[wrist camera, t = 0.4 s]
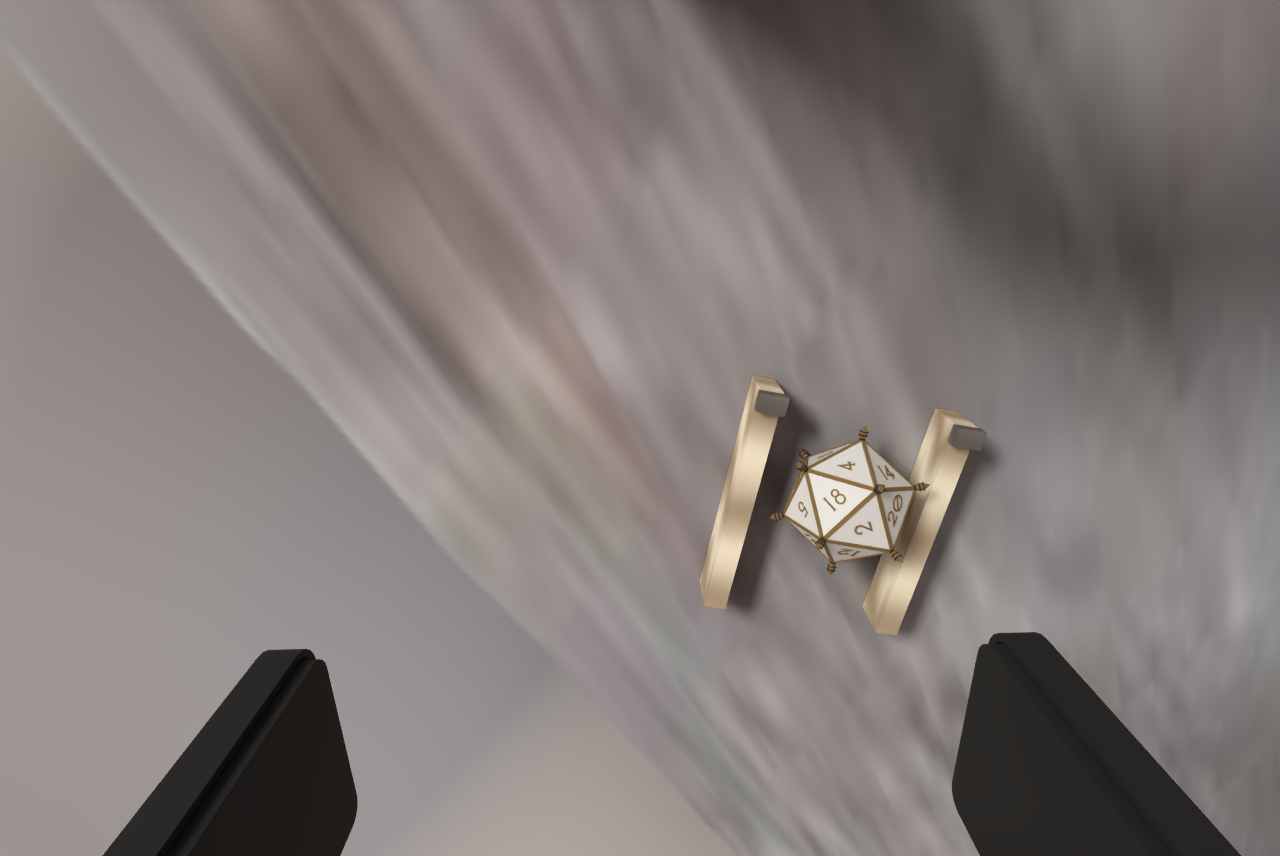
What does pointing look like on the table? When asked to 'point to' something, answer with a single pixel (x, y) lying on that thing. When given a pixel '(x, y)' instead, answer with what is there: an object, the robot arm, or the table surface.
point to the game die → (849, 502)
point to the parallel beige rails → (892, 578)
